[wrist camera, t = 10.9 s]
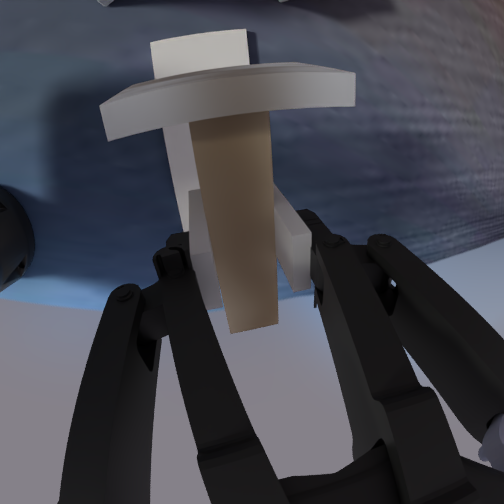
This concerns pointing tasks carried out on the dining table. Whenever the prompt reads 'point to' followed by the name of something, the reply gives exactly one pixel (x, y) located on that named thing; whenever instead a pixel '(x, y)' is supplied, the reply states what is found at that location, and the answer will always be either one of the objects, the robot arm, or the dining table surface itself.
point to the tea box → (105, 2)
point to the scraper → (233, 160)
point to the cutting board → (185, 61)
